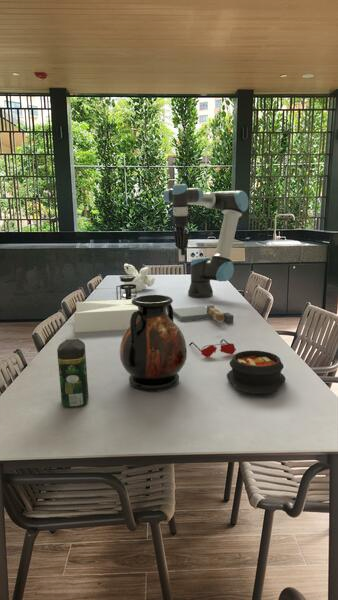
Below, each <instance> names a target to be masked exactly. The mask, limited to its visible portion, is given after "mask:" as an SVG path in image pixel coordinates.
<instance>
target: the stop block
mask: <svg viewBox="0 0 338 600" xmlns="http://www.w3.org/2000/svg"><path fill="white" fill-rule="evenodd" d="M222 313H223V314H224V321H222V322H223V323H224V324H226V325H234V315H233V314H232V313H230V312H222Z"/></svg>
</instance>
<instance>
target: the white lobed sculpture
mask: <svg viewBox="0 0 338 600" xmlns="http://www.w3.org/2000/svg"><path fill="white" fill-rule="evenodd" d="M126 265H129V266H131V267H128V275H131V276H136V278H135V279H134V280H133V281H132V282H123V284H135V285H136V289H131V293H137V292H142V291H144V290H145V288H146V287H148V288H149V287H152V286H153V285H154V284H155V280H156V279H155V276H151V275H149V272H150V266H148V267H142V268H140V270H139V272H138V270H137V269H136V267H135V266H133V264H129V263H124V265H123V266H126ZM123 268H124V271H125V273H126V274H127V269H126V267H123ZM126 287H128V286H126ZM131 287H132V286H131Z"/></svg>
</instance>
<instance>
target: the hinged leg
mask: <svg viewBox="0 0 338 600" xmlns="http://www.w3.org/2000/svg"><path fill="white" fill-rule="evenodd" d="M206 308H207V313H208V314H210V315H211V316H212V317H213V319H215V320H216V321H217V322H223V321H224V314H223V313H224V312H221V311H220V310H219V309H217V308H216V307H215V305H207V306H206Z"/></svg>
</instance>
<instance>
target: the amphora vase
mask: <svg viewBox="0 0 338 600" xmlns="http://www.w3.org/2000/svg"><path fill="white" fill-rule="evenodd" d="M131 299H132V301H131V302H132V304H133V305H135V306H137V307H138V310H139V311H135V312H133V314H132V316H131V319H130V326H129V327H128V328H127V329H125V331H124V334H123V336H122V337H121V338H122V339H121V342H120V346H119V358H120V362H121V364H122V367H123V369H124V370H125V371H126V372H127V373H128V374H129V376H128V382H129V384H130V385H131V386H132V387H133V388H135V389H138V390H142V391H146V390H147V391H148V392H159V391H164V389H165V390H167V389H168V390H169V389H170V388H173V387H174V386H176V385H177V384H178V383H179V381H180V375H179V372H180V371H181V370H182V369H183V367H184V366H185V364H186V361H187V357H188V356H187V353H188V350H187V345H186V344H187V343H186V339H185V336H184V334H183V332H182V330H181V328H179V326H178V325H177V324H176V323H175V322H174V316H173V309H174V307H173V306H172V304H173V298H172V297H170V296H168V295H164V294H145V295H144V294H143V295H138V296H137V297H133V298H131ZM166 307H167V312H168V315H167V313H166ZM158 390H159V391H158Z"/></svg>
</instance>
